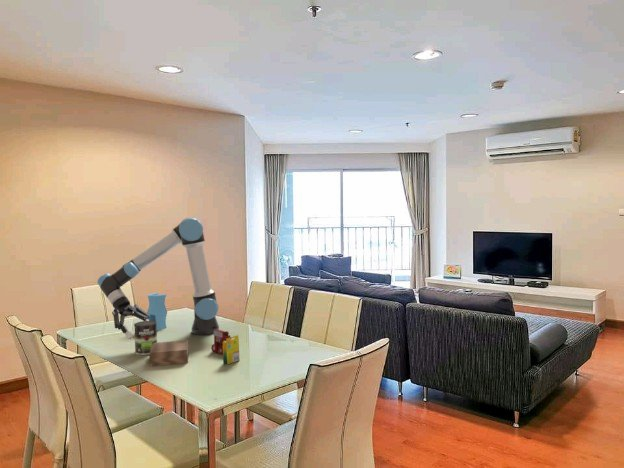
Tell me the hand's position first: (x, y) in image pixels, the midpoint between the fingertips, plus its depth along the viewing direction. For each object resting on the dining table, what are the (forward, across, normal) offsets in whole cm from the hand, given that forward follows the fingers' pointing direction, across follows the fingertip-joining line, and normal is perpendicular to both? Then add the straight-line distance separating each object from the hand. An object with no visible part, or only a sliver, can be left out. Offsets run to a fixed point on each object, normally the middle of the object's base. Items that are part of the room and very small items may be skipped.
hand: (142, 333), depth 224 cm
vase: (-13, -36, -26) cm, 46 cm away
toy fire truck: (+32, -16, +20) cm, 41 cm away
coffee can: (+8, -1, -5) cm, 9 cm away
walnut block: (+21, +3, +8) cm, 23 cm away
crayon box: (+41, -5, +28) cm, 50 cm away
